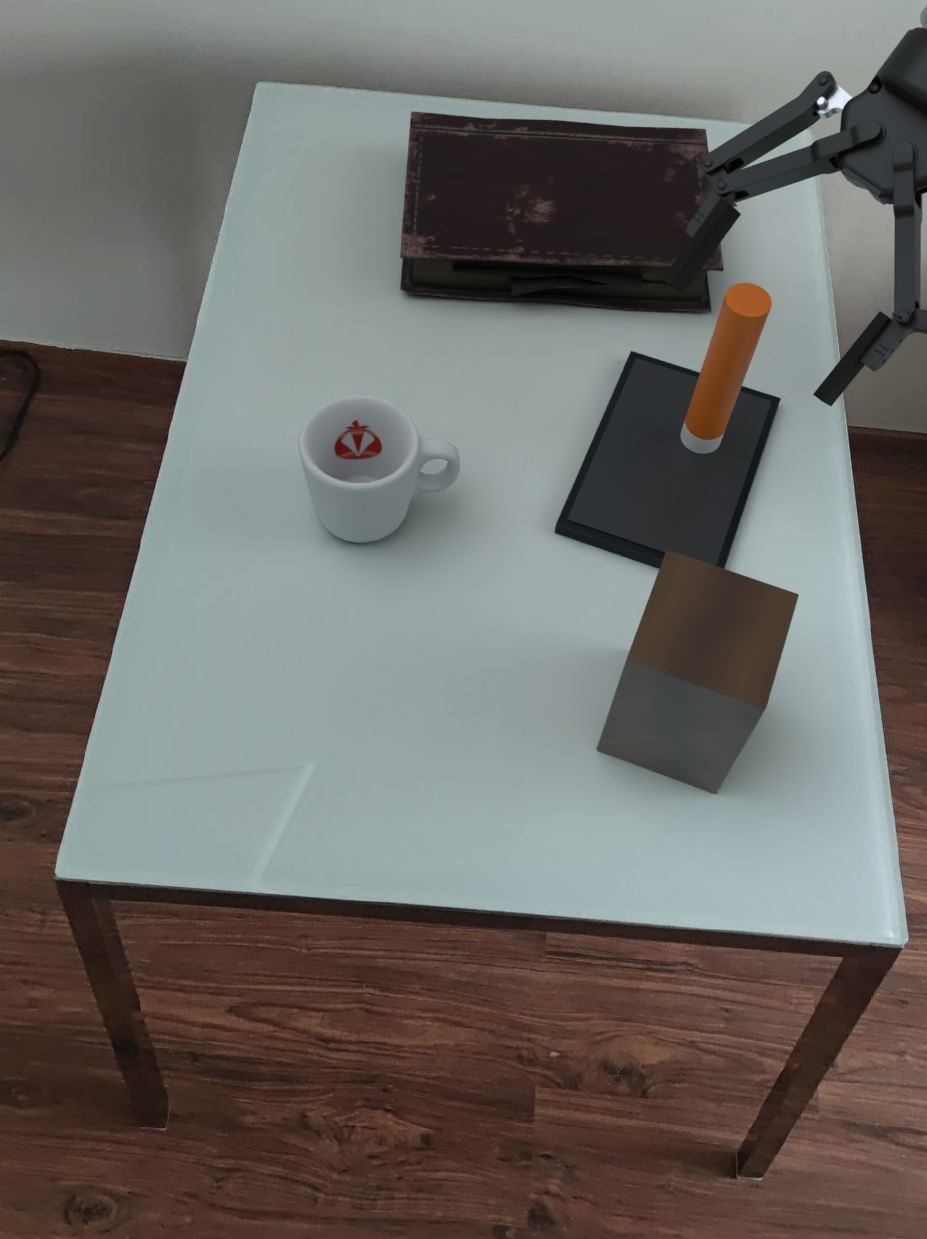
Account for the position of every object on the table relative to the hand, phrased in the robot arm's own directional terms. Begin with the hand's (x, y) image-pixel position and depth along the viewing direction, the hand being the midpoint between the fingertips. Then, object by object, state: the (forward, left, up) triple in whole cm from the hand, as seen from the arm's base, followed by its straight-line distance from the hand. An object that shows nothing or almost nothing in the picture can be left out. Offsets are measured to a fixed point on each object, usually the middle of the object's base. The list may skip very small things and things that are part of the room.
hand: (744, 342), depth 83 cm
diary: (+18, -16, -10) cm, 26 cm away
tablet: (+2, +4, -10) cm, 11 cm away
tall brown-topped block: (-4, +24, -10) cm, 26 cm away
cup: (+20, +16, -10) cm, 28 cm away
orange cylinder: (+1, +2, -9) cm, 9 cm away
